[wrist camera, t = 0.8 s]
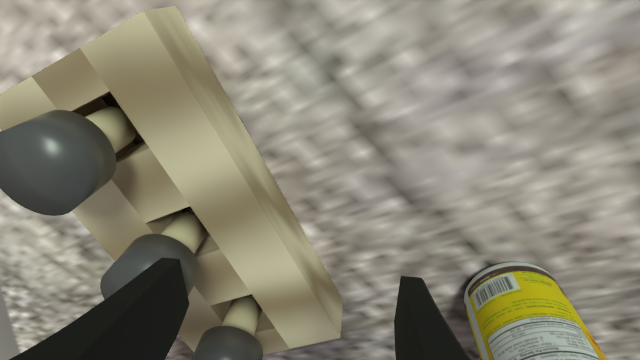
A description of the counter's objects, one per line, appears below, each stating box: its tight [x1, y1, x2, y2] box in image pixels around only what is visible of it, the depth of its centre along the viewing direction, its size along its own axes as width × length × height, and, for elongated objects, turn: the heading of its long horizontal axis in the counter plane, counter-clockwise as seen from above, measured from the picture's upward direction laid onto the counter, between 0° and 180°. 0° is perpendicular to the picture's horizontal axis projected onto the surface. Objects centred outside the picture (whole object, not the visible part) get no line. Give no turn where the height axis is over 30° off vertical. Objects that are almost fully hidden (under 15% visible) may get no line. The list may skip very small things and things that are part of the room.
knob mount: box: [0, 6, 343, 355], centre depth 22 cm, size 20×10×3 cm, turn 25°
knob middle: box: [101, 213, 207, 299], centre depth 19 cm, size 4×4×5 cm
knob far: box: [191, 296, 263, 360], centre depth 21 cm, size 4×4×5 cm
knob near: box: [0, 107, 136, 216], centre depth 16 cm, size 4×4×5 cm
